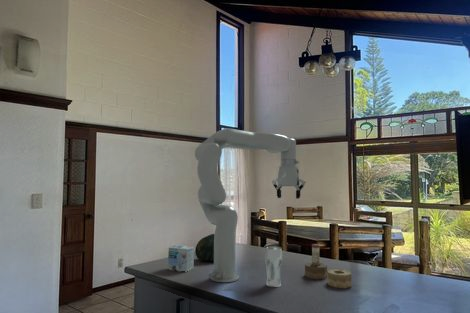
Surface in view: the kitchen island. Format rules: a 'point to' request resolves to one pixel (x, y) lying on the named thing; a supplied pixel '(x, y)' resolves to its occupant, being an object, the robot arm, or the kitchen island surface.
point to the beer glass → (273, 265)
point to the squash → (205, 248)
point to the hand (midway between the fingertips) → (288, 198)
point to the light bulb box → (181, 258)
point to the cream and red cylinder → (315, 254)
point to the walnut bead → (316, 271)
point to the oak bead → (339, 278)
